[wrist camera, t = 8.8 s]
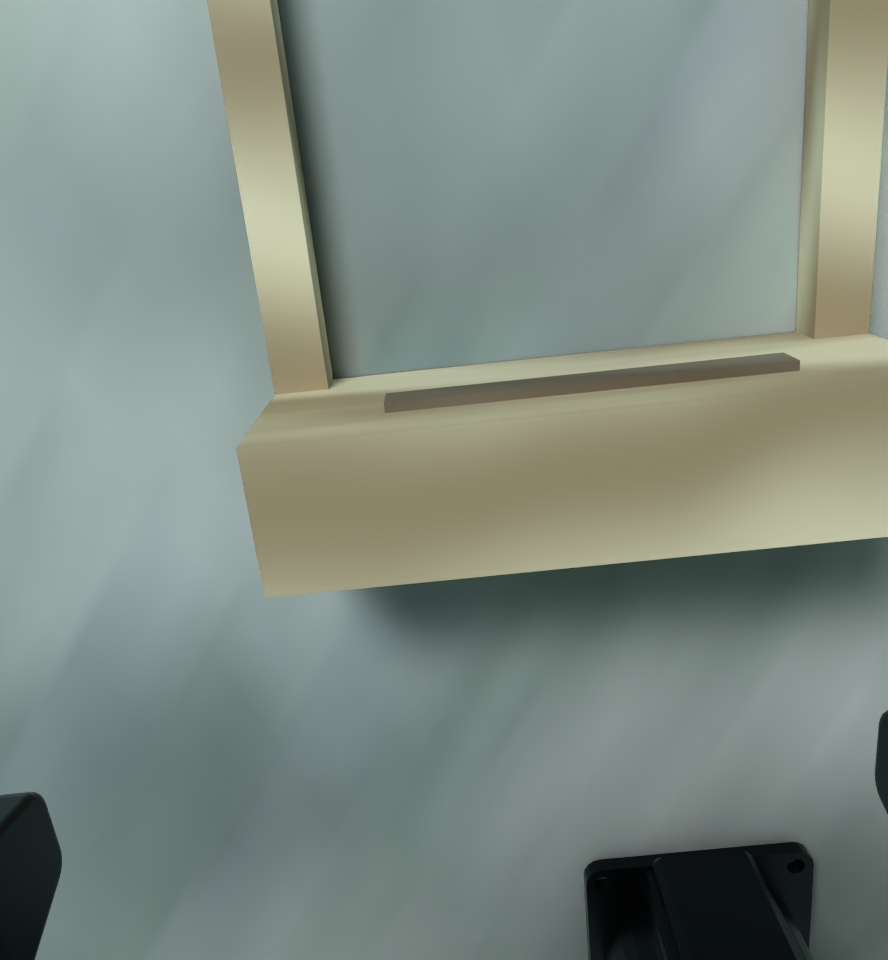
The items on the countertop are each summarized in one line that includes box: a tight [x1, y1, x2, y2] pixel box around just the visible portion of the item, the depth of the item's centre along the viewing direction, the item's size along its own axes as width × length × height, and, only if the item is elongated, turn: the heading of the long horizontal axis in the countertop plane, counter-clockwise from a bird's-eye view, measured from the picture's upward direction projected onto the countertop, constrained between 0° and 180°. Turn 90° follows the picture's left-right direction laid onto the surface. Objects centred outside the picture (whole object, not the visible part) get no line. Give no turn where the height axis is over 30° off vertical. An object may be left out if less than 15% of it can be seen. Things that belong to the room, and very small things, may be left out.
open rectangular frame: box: [207, 0, 888, 598], centre depth 16 cm, size 15×13×5 cm
